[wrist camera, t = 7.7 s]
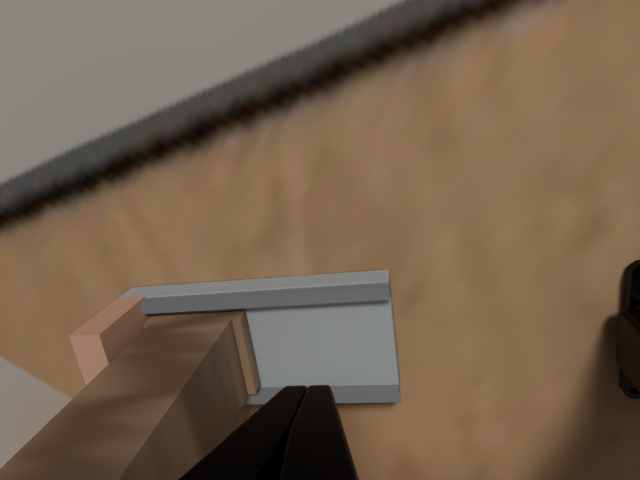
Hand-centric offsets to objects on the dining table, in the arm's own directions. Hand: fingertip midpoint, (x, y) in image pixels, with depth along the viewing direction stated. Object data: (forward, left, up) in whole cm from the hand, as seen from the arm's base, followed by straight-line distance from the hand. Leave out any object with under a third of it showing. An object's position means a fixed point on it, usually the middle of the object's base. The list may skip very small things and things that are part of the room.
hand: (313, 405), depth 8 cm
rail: (+5, +5, -12) cm, 15 cm away
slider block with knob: (+8, +6, -11) cm, 15 cm away
